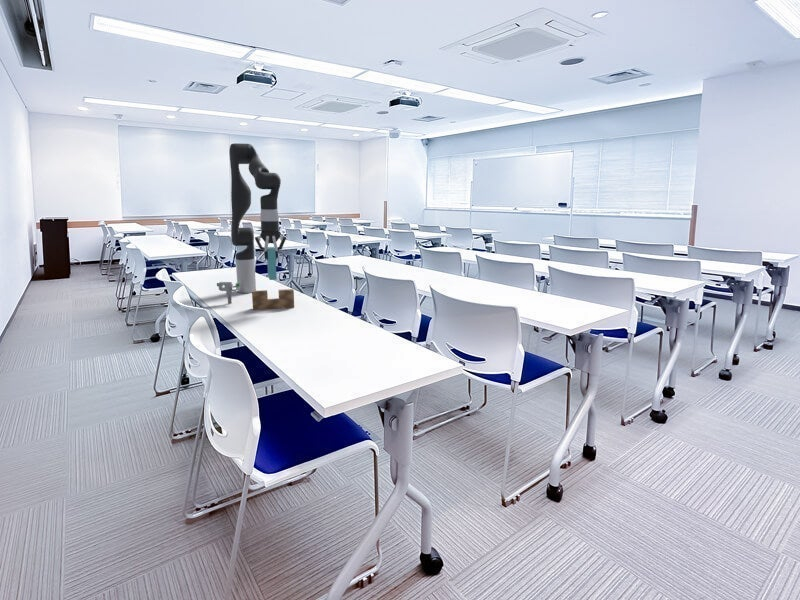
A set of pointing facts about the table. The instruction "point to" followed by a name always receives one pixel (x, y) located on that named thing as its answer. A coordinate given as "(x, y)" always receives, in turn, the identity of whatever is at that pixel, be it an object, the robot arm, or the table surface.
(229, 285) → the mechanical component
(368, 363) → the table surface
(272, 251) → the teal notched block
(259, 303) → the walnut slotted plate
